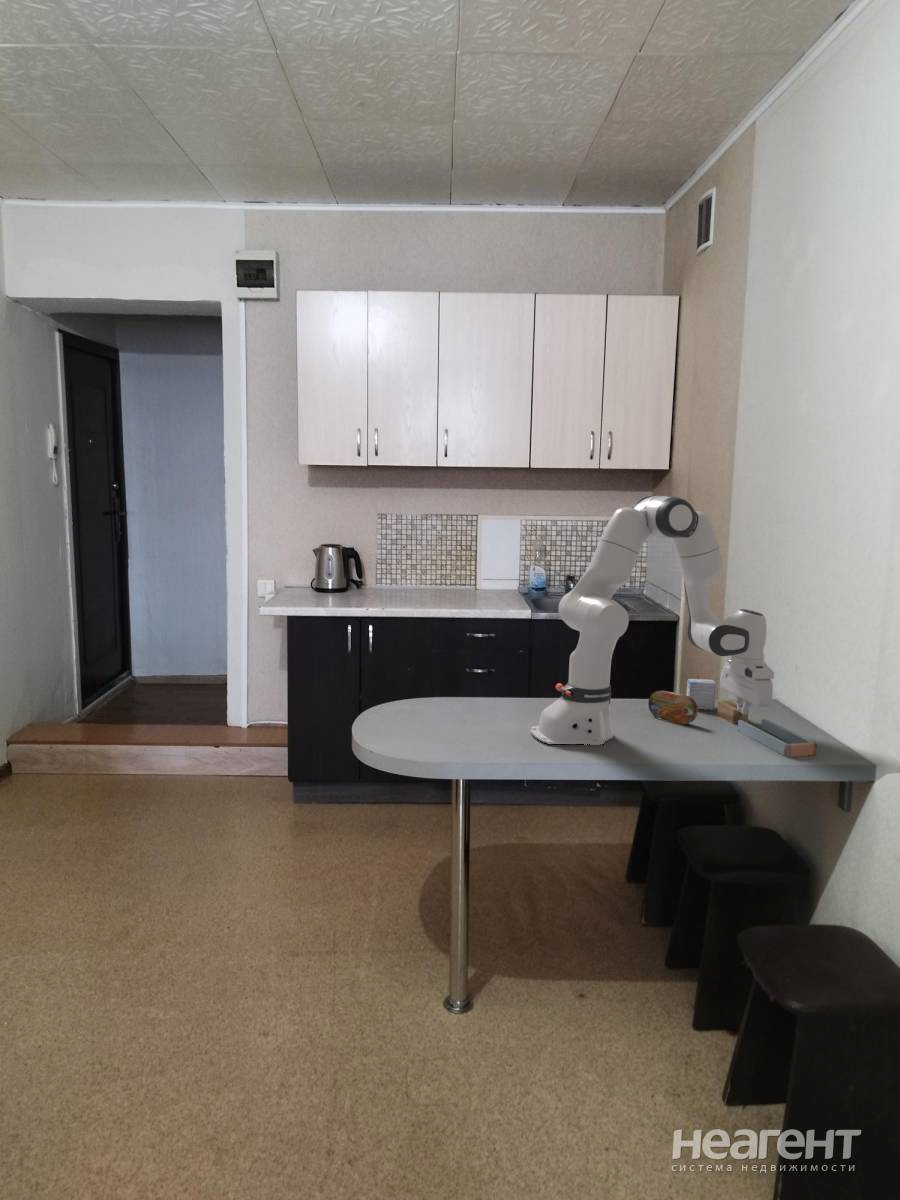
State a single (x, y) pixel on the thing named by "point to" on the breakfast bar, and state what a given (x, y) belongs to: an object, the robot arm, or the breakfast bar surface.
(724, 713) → the tan block
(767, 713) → the breakfast bar surface
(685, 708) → the tin
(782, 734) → the trap channel
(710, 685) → the medicine box
